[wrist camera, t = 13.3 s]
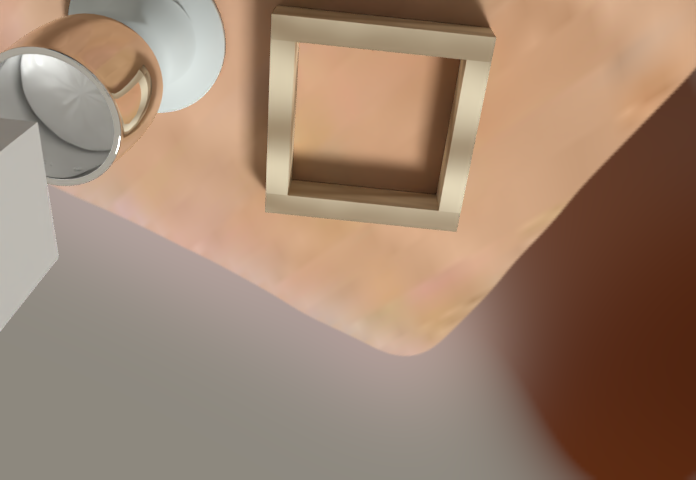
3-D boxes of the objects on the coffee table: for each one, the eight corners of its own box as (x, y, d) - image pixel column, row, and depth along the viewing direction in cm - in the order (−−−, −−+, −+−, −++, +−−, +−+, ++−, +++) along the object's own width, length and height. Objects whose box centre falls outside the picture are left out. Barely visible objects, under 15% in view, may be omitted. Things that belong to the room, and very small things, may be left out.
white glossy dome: (62, -56, 40) (58, -55, 40) (225, -39, 40) (223, -38, 40) (81, 101, 45) (77, 104, 45) (225, 116, 46) (224, 120, 45)
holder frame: (277, 5, 42) (271, 13, 39) (490, 27, 42) (496, 37, 40) (270, 195, 48) (265, 212, 46) (453, 214, 49) (456, 232, 46)
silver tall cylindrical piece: (168, -39, 40) (66, 15, 27) (223, 67, 43) (154, 161, 30) (73, 7, 42) (-66, 77, 29) (133, 105, 45) (31, 209, 32)
